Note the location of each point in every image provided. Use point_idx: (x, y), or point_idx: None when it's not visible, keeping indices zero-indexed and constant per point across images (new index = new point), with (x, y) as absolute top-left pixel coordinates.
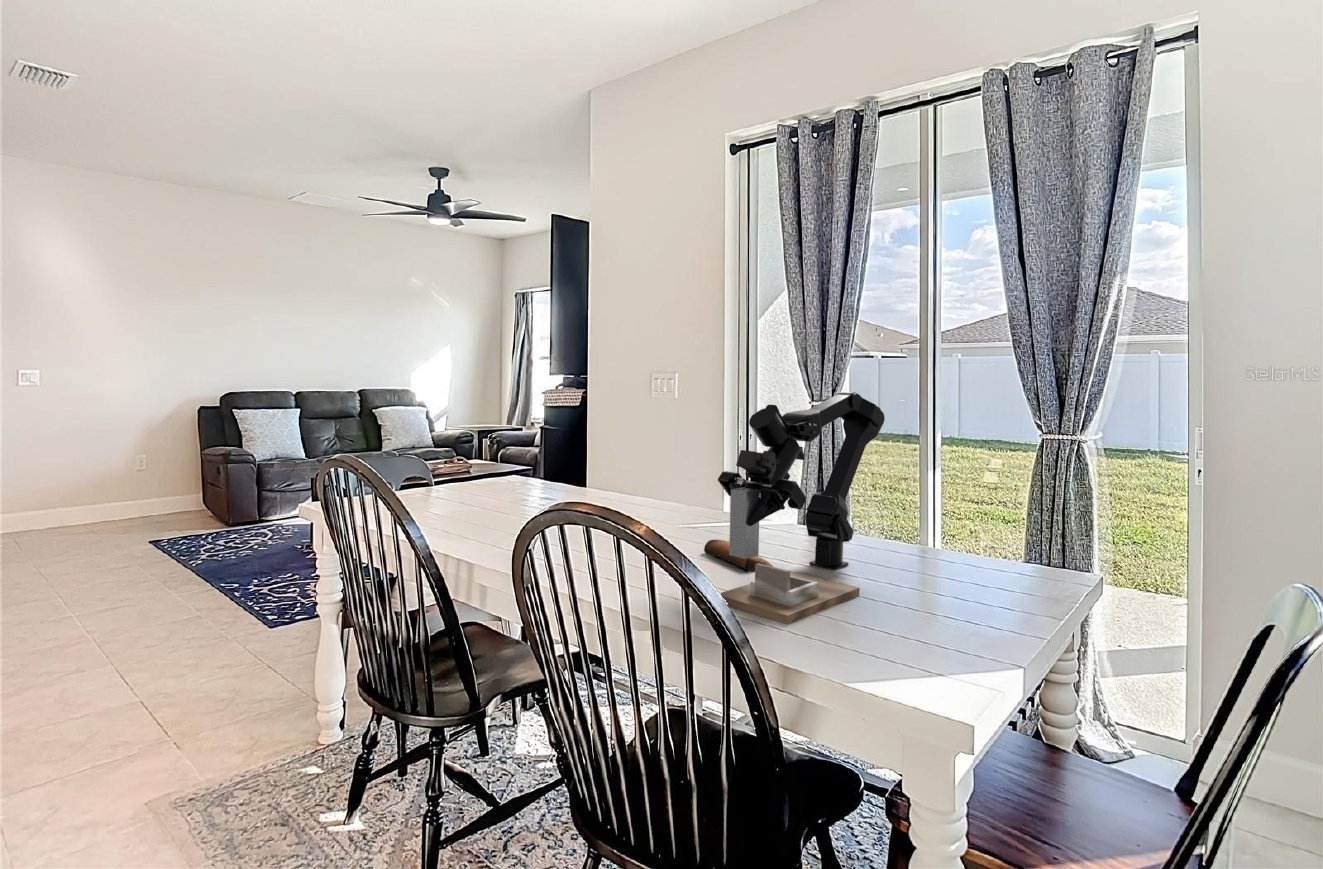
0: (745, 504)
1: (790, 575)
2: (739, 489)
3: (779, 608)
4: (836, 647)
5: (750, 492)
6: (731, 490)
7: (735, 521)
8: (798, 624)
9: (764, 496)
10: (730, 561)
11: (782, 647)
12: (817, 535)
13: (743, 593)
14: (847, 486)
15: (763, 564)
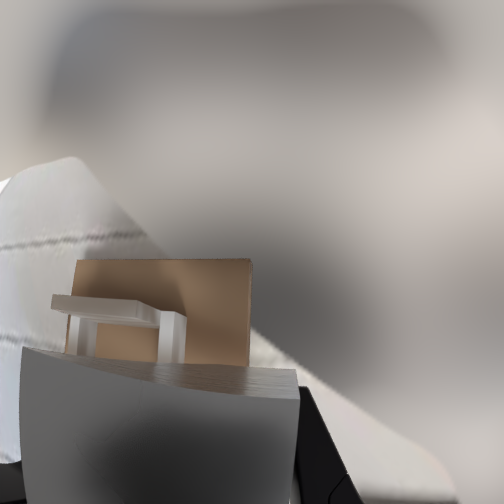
0: (112, 359)
1: None
2: (178, 474)
3: (99, 282)
4: (23, 239)
5: (30, 418)
6: (285, 398)
7: (250, 372)
8: None
9: (8, 473)
10: None
11: (68, 187)
12: None
13: (204, 314)
14: None
15: (118, 315)
